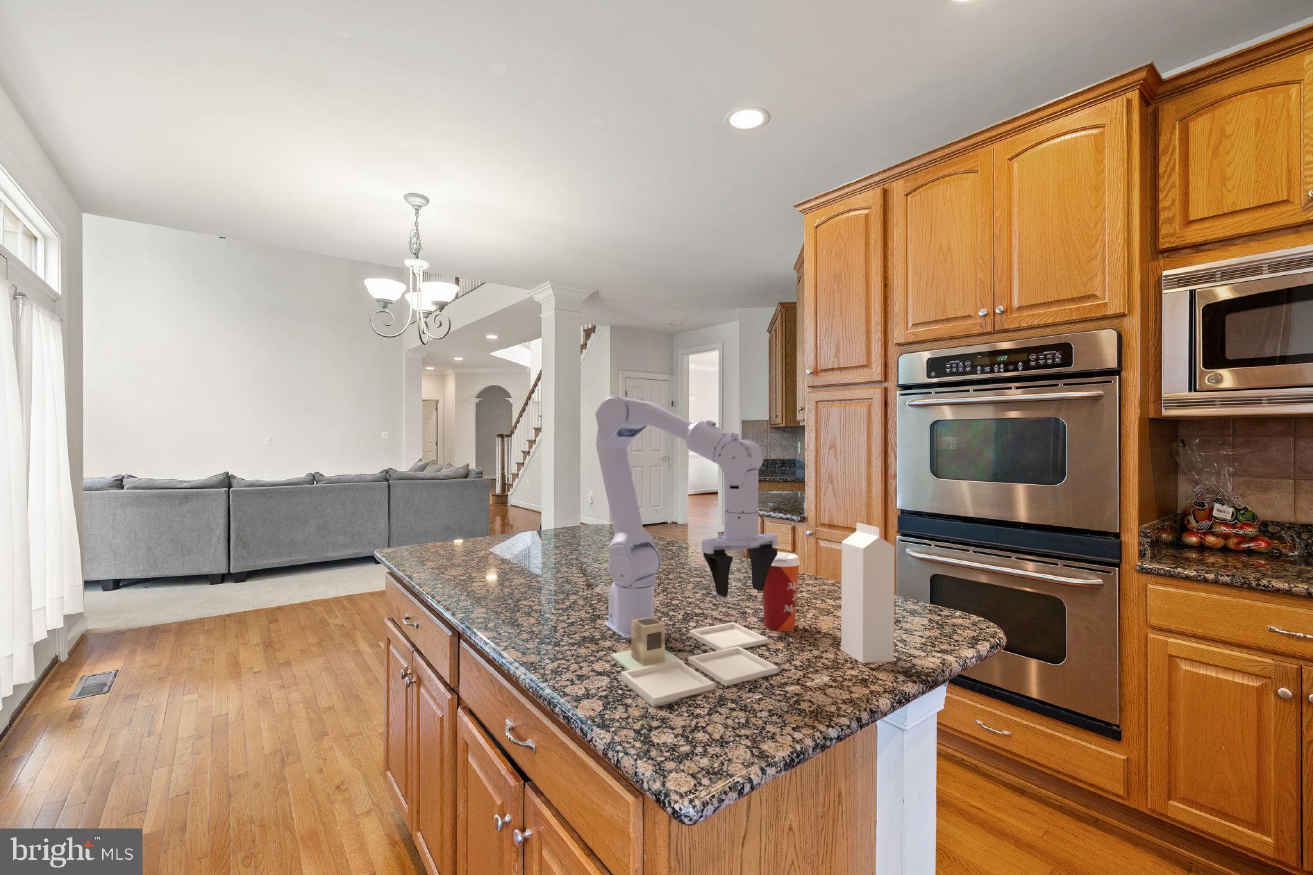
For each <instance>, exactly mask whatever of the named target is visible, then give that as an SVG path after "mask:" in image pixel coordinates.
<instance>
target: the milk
mask: <svg viewBox="0 0 1313 875" xmlns="http://www.w3.org/2000/svg"><path fill="white" fill-rule="evenodd" d="M855 527H856V531H855V532H853V533H852V534H850V535H849V536H848V537H846V538H845V539H843V540H842V541H841V608H840V612H841V613H840V614H841V616H840V617H841V618H840V619H841V621H840V622H841V624H840V625H841V628H840V630H841V634H840V635H841V636H840V640H841V642H840V651H842V652H844V653H845V654H847V655H849V656H850V657H852V658H853V659H855V660H857V661H858V662H860V663H861V664H867V663H870V664H871V665H877V664H885V663H893V662H894V658H895V655H894V652H895V651H894V650H895V646H894V645H895V638H894V637H895V546H894V545H893V544H891V543H889V542H888V541H886V539H883V538H882V537H881V536H880V533H881V532H880V531H881V530H880V527H878V526H875V525H868V524H865V523H861V522H856V526H855Z"/></svg>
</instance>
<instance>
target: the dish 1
mask: <svg viewBox="0 0 1313 875" xmlns="http://www.w3.org/2000/svg"><path fill="white" fill-rule="evenodd" d="M620 681H622V682H623V683H624V684H625V685H627V687H629V689H631V690H632V691H634V692H635V693H636V694H637V695H638V696H639V697H640V698H642V699H643V700H644V701H645V702H647V703H648V704H649V705H650V706H651V707H652V708H656V707H661V706H665V705H669V704H673V703H676V702H680V701H682V700H681V699H682V698H687V697H690V696H693V695H697V694H701V693H705V692H709V691H712V690H713V691H714V690H715V682H714V681H712V680H710V679H709V678H708V677H706V676H704V675H703V674H701V673H700V672H698V671H697V670H694V668H692V667H690V666H688V665H687V664H686V663H683V662H681V661H679V660H678V659H677V660H673V661H668V662H664V663H659V664H654V665H650V666H645V667H641V668H636V669H631V670H627V669H626V670H624V671H620Z"/></svg>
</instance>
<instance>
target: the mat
mask: <svg viewBox="0 0 1313 875" xmlns="http://www.w3.org/2000/svg"><path fill="white" fill-rule="evenodd" d="M609 655H610V656H609V657H610V658H612V659H613V660H614V661H615V662H617V663H618V664H619V665H620V666H622V667H623V668H624V669H625V670H626V671H627V670H631V669H636V668H641V667H645V666H650V665H654V664H659V663H664V662H668V661H673V660H677V659H678V660H679V661H681V662H683V663H684V664H686V662H685V661H684V660H682V659H680V658H679V657H678V656H676V655H675V654H673V653H671V652H670V651H668V650H666V649H665V661H661V662H657V663H652V664H648V665H642V664H640V663H639V662H637V661H636V660H635V659H633V658H632V657H631V649H630V650H629V649H628V650H624V651H620V652H619V651H618V652H615V653H611V654H609Z"/></svg>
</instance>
